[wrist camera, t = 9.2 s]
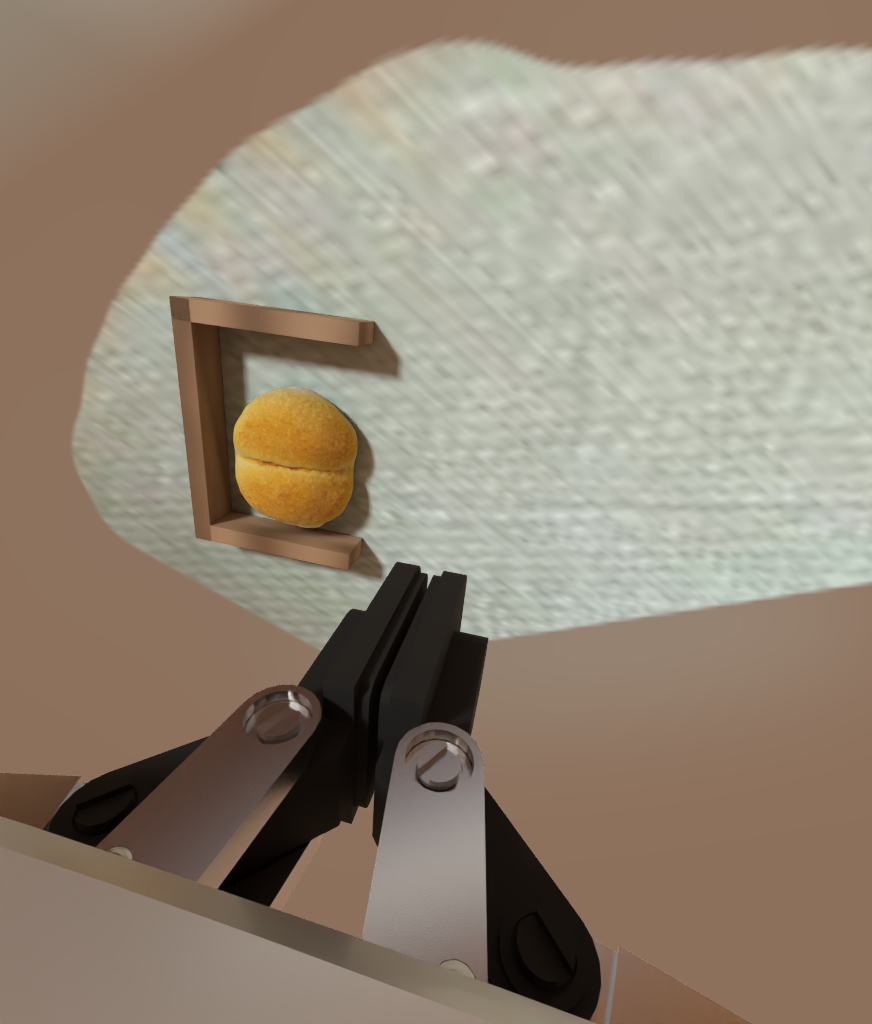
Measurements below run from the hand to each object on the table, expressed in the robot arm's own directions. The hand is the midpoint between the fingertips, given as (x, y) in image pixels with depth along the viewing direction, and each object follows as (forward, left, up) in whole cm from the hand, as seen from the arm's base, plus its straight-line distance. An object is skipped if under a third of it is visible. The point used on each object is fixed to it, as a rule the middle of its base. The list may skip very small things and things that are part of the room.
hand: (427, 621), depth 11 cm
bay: (+13, +2, -19) cm, 23 cm away
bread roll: (+12, +4, -19) cm, 23 cm away
